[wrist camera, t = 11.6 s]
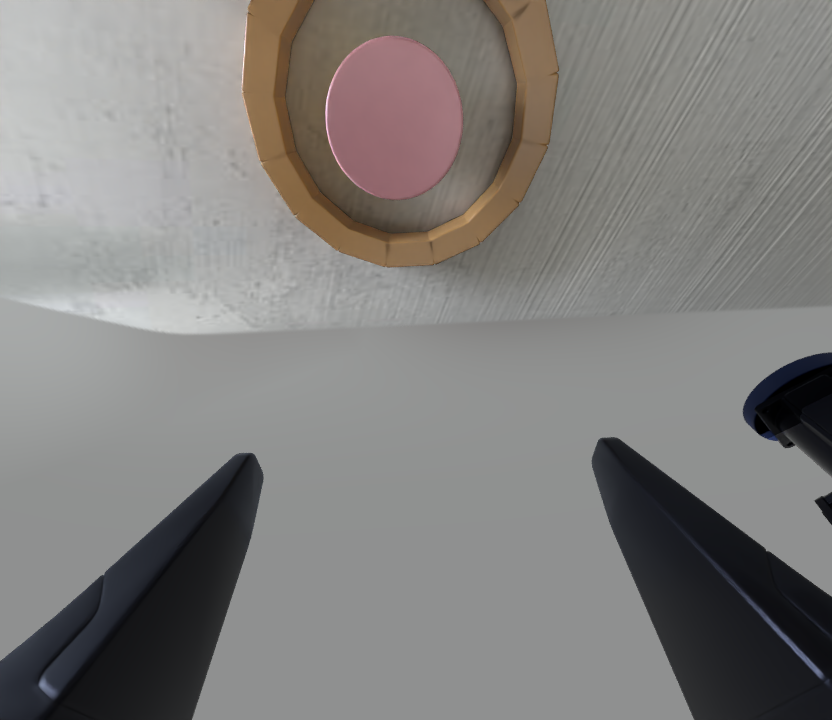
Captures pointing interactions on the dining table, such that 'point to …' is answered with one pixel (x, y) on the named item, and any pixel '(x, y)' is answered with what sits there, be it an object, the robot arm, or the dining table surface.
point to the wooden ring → (268, 116)
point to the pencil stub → (394, 117)
